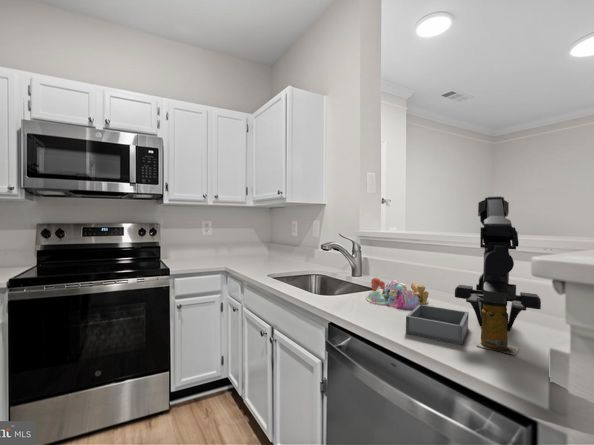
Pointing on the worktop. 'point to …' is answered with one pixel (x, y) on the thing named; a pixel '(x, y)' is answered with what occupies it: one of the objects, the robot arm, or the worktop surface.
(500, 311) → the condiment
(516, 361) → the worktop surface
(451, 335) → the bin
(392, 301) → the colourful coral reef
